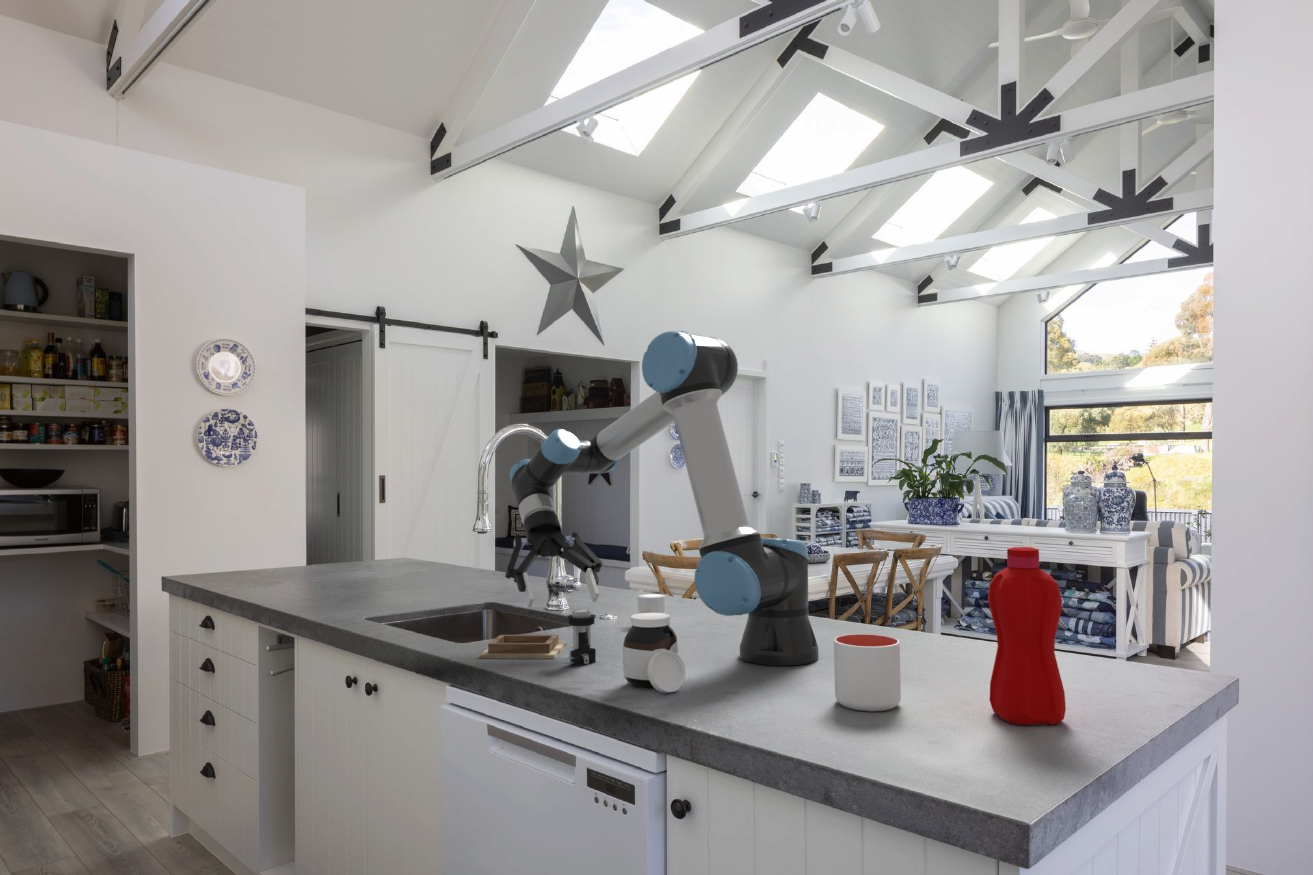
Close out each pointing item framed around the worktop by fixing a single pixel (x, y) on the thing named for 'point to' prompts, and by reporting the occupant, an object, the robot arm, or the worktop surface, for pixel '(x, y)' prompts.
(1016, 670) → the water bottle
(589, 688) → the worktop surface
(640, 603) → the white cylinder
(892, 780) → the worktop surface
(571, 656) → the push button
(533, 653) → the socket plate
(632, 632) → the spread jar
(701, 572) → the robot arm
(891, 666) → the cup
